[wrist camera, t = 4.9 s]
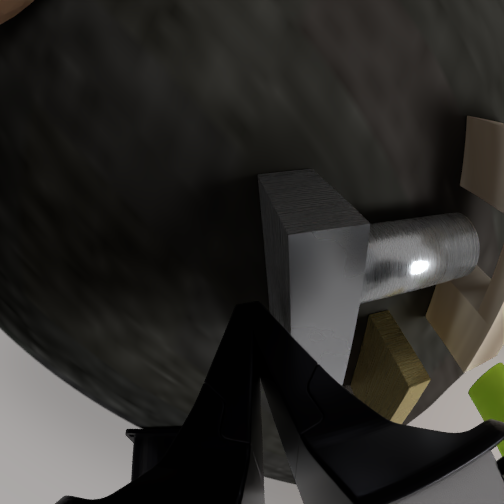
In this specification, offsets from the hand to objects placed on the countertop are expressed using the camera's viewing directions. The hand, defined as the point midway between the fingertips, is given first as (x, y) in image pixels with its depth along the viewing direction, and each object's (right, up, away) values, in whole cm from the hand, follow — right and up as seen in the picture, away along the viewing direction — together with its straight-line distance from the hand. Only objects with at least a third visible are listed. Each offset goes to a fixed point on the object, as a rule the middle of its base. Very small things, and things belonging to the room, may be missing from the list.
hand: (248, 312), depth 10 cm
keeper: (+7, -4, +7) cm, 11 cm away
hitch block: (+12, +3, +3) cm, 13 cm away
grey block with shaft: (+6, +3, +3) cm, 7 cm away
